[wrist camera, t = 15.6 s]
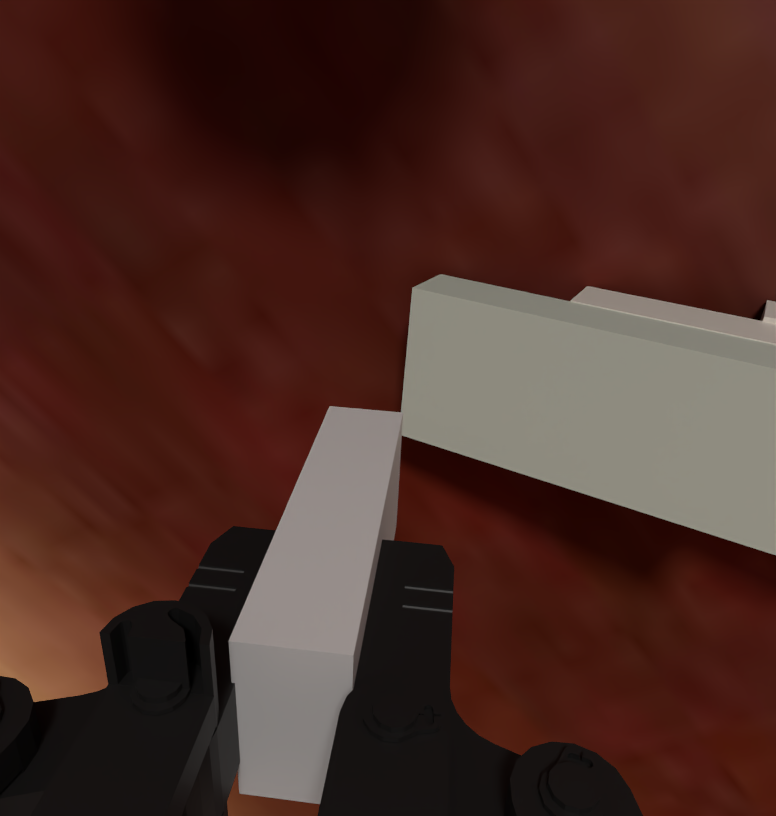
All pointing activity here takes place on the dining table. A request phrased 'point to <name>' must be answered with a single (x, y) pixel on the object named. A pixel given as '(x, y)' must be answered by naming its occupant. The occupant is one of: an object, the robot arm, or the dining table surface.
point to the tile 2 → (678, 314)
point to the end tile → (598, 403)
